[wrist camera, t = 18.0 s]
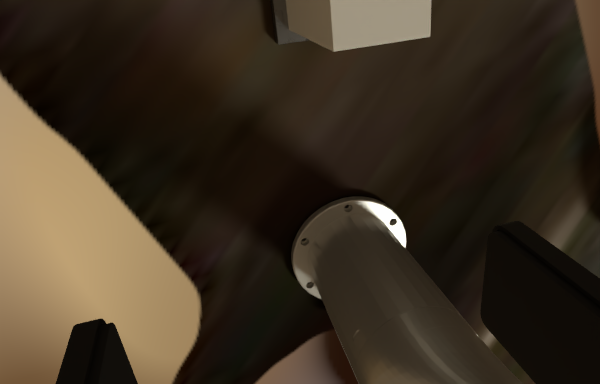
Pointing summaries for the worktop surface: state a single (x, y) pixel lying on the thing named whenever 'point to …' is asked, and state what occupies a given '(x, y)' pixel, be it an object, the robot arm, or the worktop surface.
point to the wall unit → (350, 22)
